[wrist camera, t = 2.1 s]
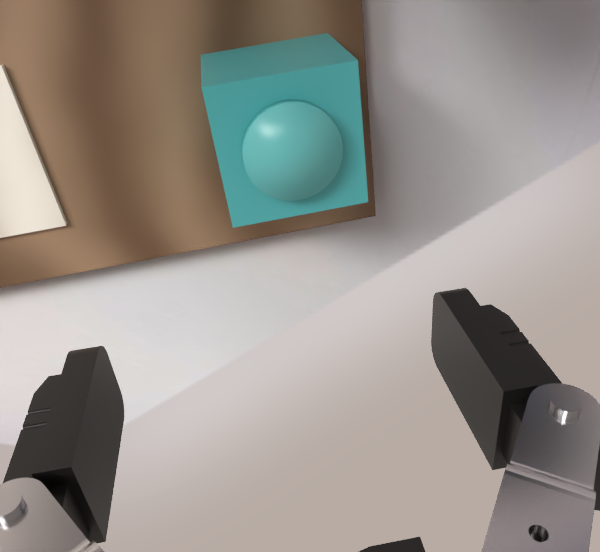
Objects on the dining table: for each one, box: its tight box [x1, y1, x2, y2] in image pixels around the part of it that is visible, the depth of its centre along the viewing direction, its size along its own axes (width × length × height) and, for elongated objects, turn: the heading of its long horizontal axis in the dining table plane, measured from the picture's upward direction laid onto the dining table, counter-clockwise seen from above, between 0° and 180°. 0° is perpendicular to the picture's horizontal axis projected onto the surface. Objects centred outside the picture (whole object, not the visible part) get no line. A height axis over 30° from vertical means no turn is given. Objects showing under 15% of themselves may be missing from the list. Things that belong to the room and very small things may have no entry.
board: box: [0, 0, 376, 288], centre depth 26 cm, size 25×14×6 cm, turn 98°
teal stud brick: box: [201, 33, 368, 228], centre depth 25 cm, size 6×6×7 cm
